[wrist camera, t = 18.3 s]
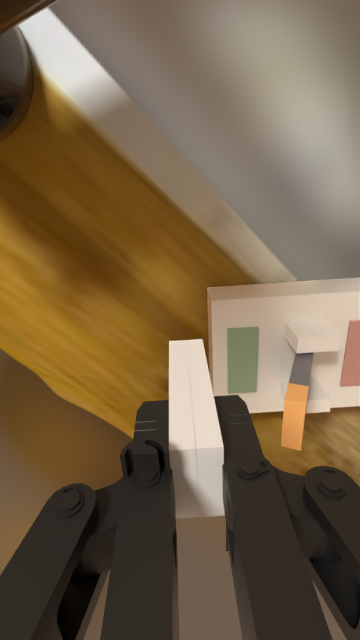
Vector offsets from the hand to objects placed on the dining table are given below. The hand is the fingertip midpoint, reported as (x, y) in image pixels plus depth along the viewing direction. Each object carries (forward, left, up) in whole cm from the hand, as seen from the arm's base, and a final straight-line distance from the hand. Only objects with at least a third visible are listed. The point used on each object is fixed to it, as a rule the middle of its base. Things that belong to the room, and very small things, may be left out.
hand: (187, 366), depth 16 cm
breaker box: (+16, -16, -32) cm, 40 cm away
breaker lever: (+16, -16, -25) cm, 34 cm away
